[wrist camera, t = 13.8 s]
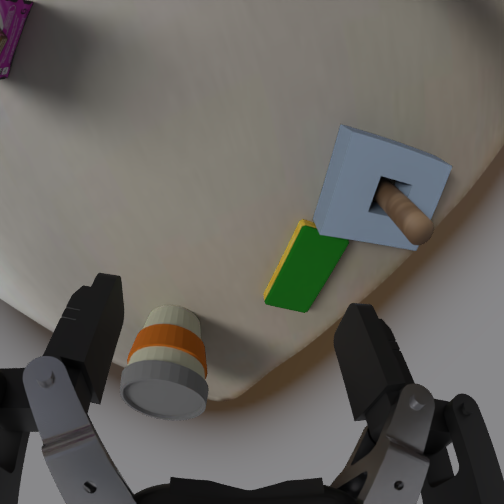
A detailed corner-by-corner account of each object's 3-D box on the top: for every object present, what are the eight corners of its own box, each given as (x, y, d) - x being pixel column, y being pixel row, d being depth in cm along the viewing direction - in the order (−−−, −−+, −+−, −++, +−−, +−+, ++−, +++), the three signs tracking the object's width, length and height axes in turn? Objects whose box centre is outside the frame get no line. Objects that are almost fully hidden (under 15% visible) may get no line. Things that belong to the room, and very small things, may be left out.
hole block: (340, 124, 34) (352, 131, 30) (436, 156, 36) (452, 166, 33) (312, 219, 41) (319, 234, 37) (404, 235, 43) (416, 250, 40)
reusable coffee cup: (128, 297, 47) (104, 374, 34) (205, 294, 47) (199, 377, 35) (148, 348, 54) (135, 418, 41) (215, 346, 54) (213, 421, 42)
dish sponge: (262, 293, 48) (263, 304, 46) (300, 216, 41) (303, 225, 39) (303, 303, 50) (306, 313, 48) (345, 232, 43) (350, 241, 41)
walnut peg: (371, 172, 37) (415, 215, 27) (391, 177, 38) (438, 221, 28) (363, 194, 39) (403, 242, 29) (383, 198, 40) (426, 247, 30)
